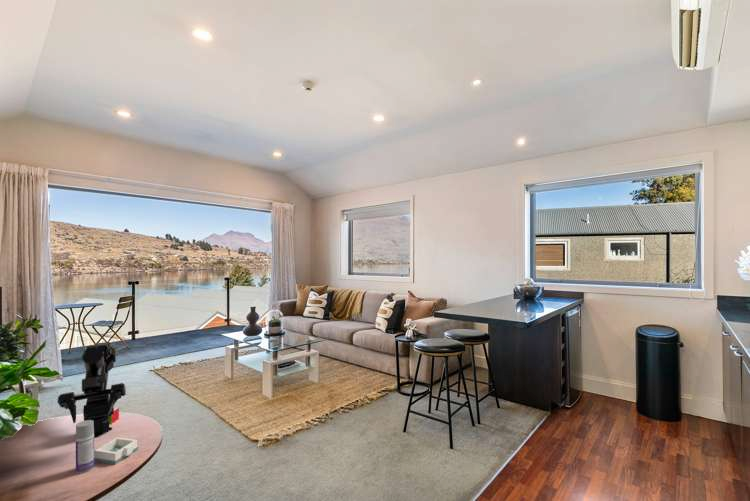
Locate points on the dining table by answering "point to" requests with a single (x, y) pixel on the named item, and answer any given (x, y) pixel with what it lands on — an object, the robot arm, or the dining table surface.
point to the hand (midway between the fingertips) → (91, 418)
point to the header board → (115, 450)
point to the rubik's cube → (114, 416)
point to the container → (84, 446)
